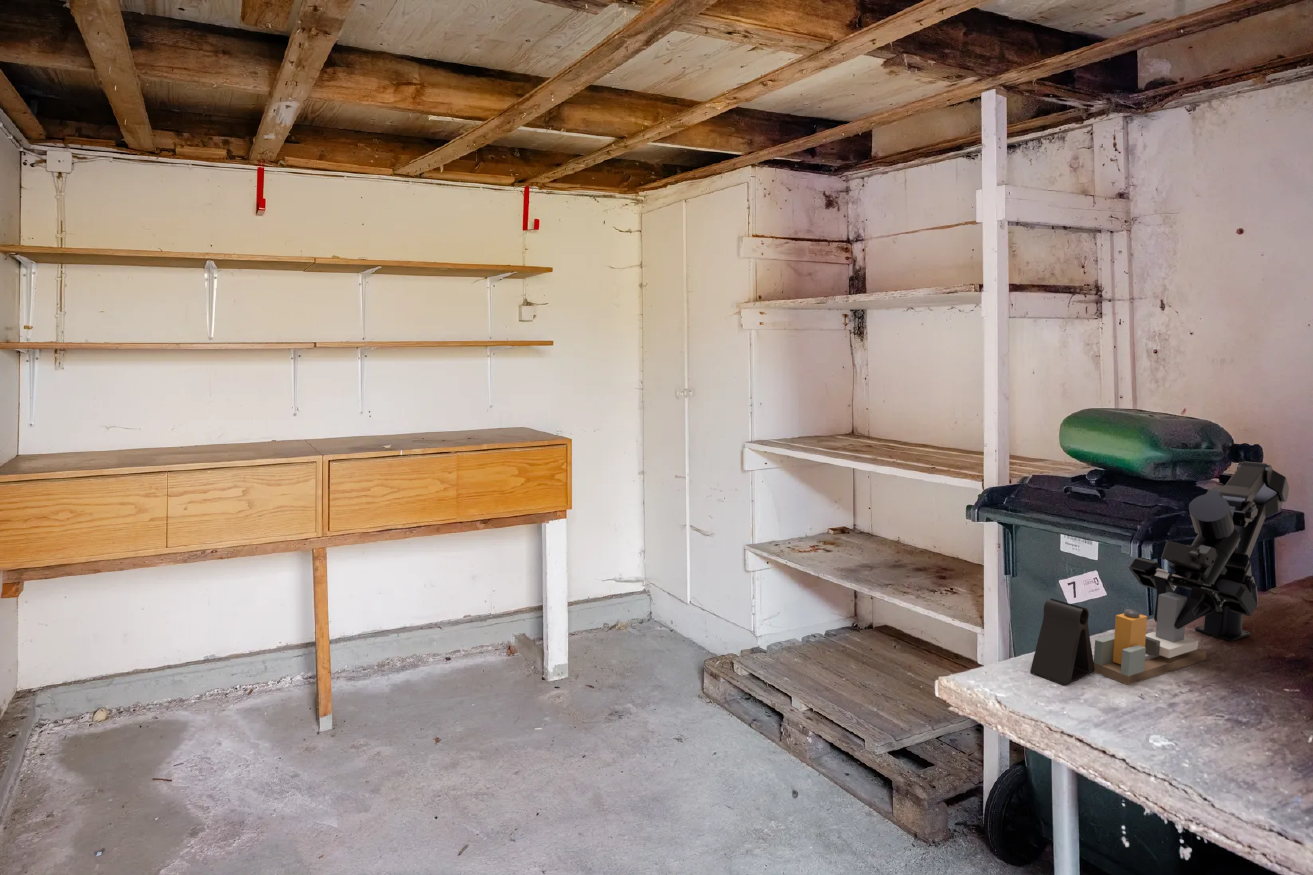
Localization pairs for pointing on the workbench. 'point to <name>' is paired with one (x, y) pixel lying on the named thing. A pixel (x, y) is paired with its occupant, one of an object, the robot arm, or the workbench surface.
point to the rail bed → (1151, 666)
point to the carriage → (1169, 629)
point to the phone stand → (1063, 644)
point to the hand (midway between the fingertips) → (1165, 624)
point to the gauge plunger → (1128, 632)
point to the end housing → (1130, 656)
